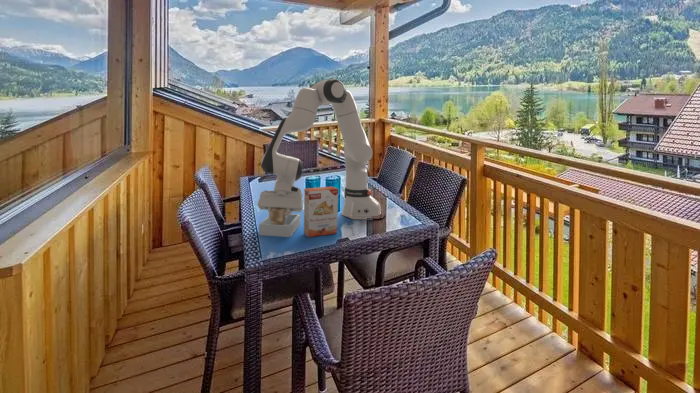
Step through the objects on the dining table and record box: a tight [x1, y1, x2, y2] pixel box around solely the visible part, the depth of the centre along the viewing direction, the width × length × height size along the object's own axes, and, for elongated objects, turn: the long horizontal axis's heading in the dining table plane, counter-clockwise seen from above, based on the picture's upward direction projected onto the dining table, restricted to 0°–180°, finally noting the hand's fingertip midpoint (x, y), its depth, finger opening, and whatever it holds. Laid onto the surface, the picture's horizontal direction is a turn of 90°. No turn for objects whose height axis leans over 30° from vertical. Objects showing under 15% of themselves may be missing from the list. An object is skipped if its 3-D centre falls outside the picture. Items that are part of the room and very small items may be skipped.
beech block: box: [271, 208, 285, 225], centre depth 179 cm, size 5×5×8 cm
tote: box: [258, 213, 301, 238], centre depth 184 cm, size 14×18×5 cm
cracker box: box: [303, 186, 339, 238], centre depth 178 cm, size 14×6×21 cm, turn 117°
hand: (277, 218), depth 178 cm, fingers closed on beech block, 5 cm apart
